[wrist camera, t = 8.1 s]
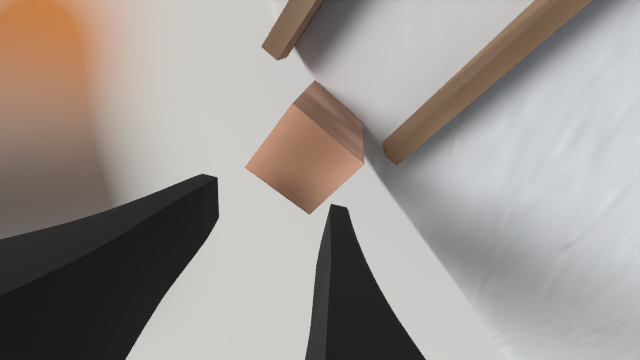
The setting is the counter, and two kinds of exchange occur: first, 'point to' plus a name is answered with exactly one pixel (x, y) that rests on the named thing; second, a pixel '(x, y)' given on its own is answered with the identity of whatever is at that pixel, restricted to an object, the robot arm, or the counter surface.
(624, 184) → the counter surface
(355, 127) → the terracotta block
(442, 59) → the counter surface
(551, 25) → the walnut channel
